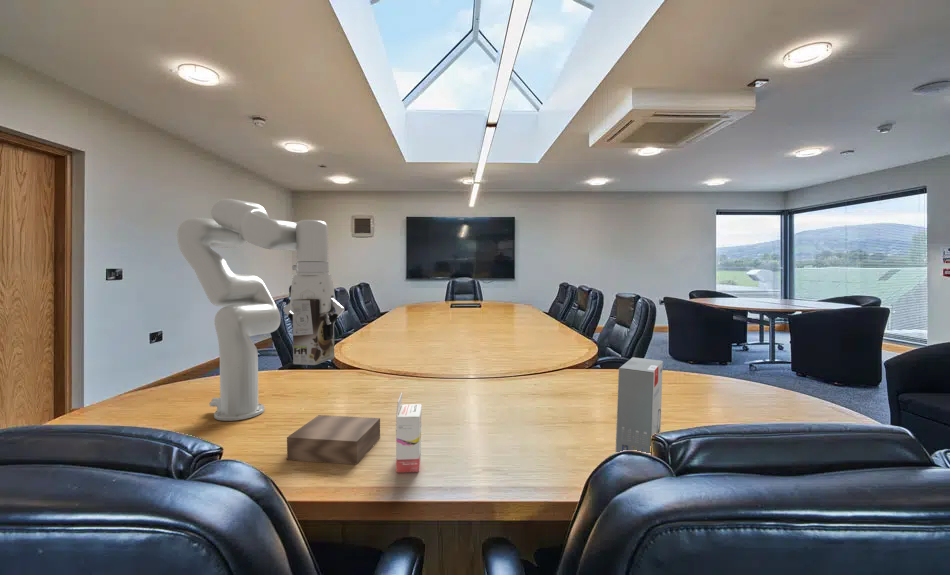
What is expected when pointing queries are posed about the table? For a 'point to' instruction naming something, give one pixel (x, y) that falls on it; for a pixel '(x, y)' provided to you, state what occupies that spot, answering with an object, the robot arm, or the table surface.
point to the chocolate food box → (310, 334)
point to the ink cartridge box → (408, 437)
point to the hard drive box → (638, 404)
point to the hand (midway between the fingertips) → (314, 338)
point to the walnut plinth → (334, 439)
